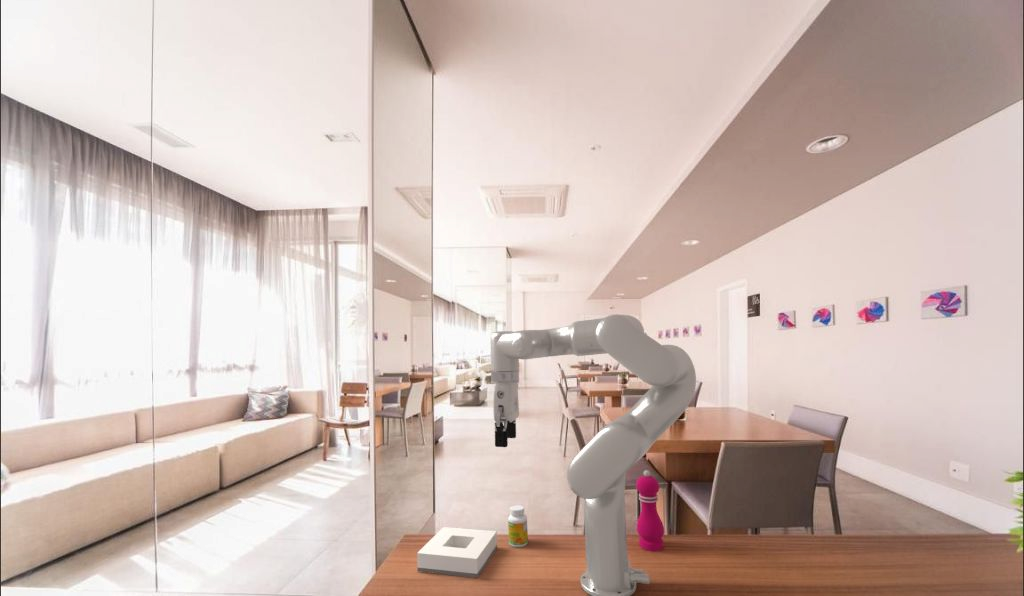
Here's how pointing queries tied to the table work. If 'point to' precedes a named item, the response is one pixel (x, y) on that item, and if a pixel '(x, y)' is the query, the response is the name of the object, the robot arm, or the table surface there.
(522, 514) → the supplement bottle
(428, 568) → the socket block
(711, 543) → the table surface
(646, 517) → the pepper mill
